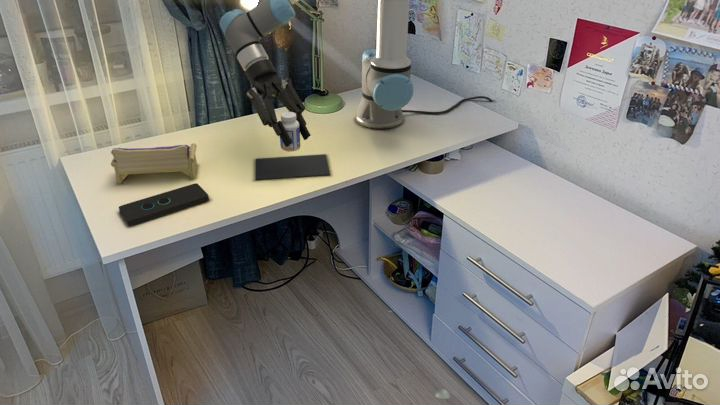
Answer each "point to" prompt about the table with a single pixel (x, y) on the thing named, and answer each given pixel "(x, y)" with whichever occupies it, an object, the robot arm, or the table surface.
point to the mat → (291, 167)
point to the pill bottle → (291, 131)
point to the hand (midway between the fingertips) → (298, 141)
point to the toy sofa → (154, 160)
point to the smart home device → (163, 204)
